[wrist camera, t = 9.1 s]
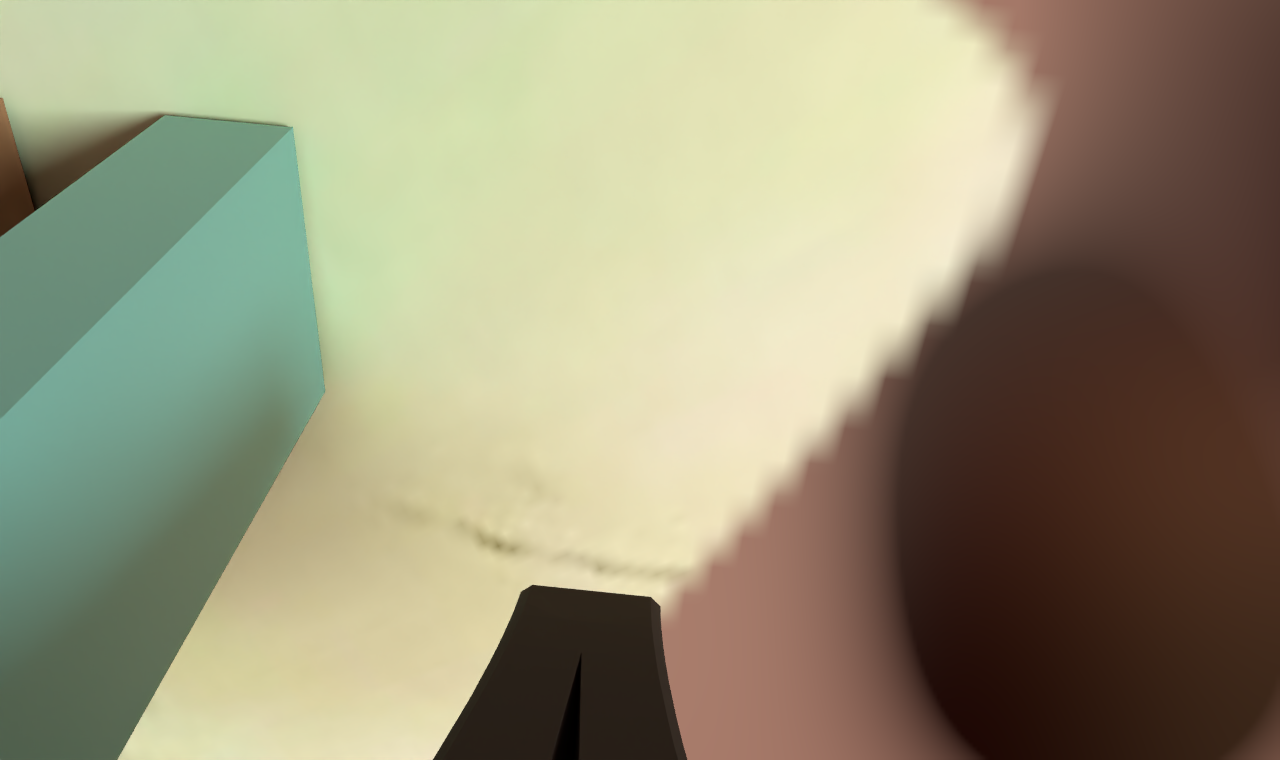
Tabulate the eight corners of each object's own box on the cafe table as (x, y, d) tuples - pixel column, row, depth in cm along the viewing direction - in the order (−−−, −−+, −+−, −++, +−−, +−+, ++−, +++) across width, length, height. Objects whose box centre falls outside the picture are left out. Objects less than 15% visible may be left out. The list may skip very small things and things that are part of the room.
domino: (325, 391, 18) (5, 956, 10) (217, 381, 18) (-193, 936, 10) (293, 127, 15) (-189, 608, 7) (164, 115, 15) (-465, 579, 7)
